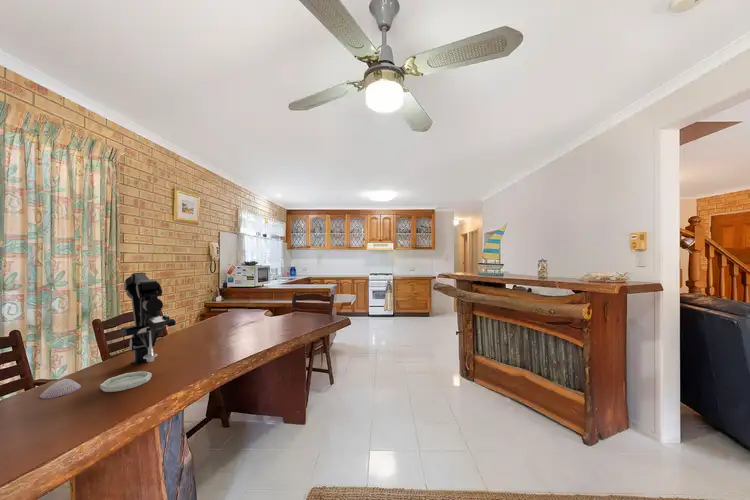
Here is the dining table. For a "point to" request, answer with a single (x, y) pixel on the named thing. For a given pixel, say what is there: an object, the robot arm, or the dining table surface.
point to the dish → (125, 381)
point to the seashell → (60, 389)
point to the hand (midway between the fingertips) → (150, 346)
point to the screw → (150, 349)
